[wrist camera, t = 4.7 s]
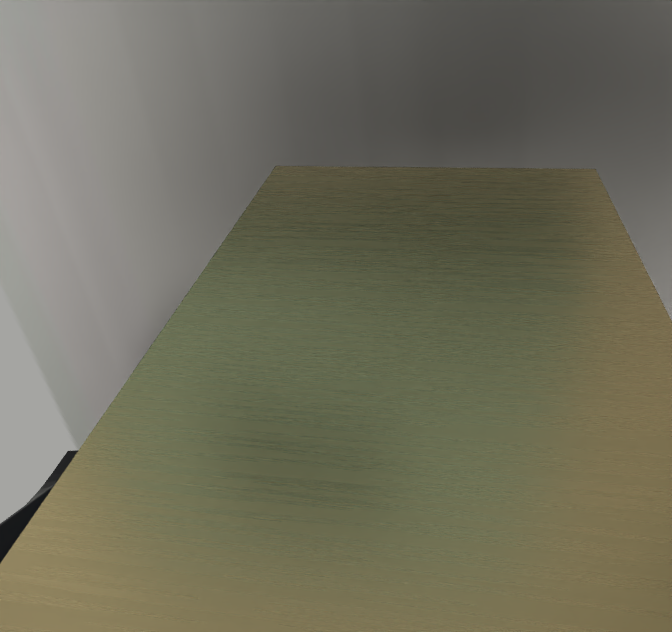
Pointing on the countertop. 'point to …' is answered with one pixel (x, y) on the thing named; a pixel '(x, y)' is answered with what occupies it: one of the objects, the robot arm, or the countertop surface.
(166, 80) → the countertop surface
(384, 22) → the countertop surface
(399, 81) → the countertop surface
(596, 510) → the brass pin
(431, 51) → the countertop surface
